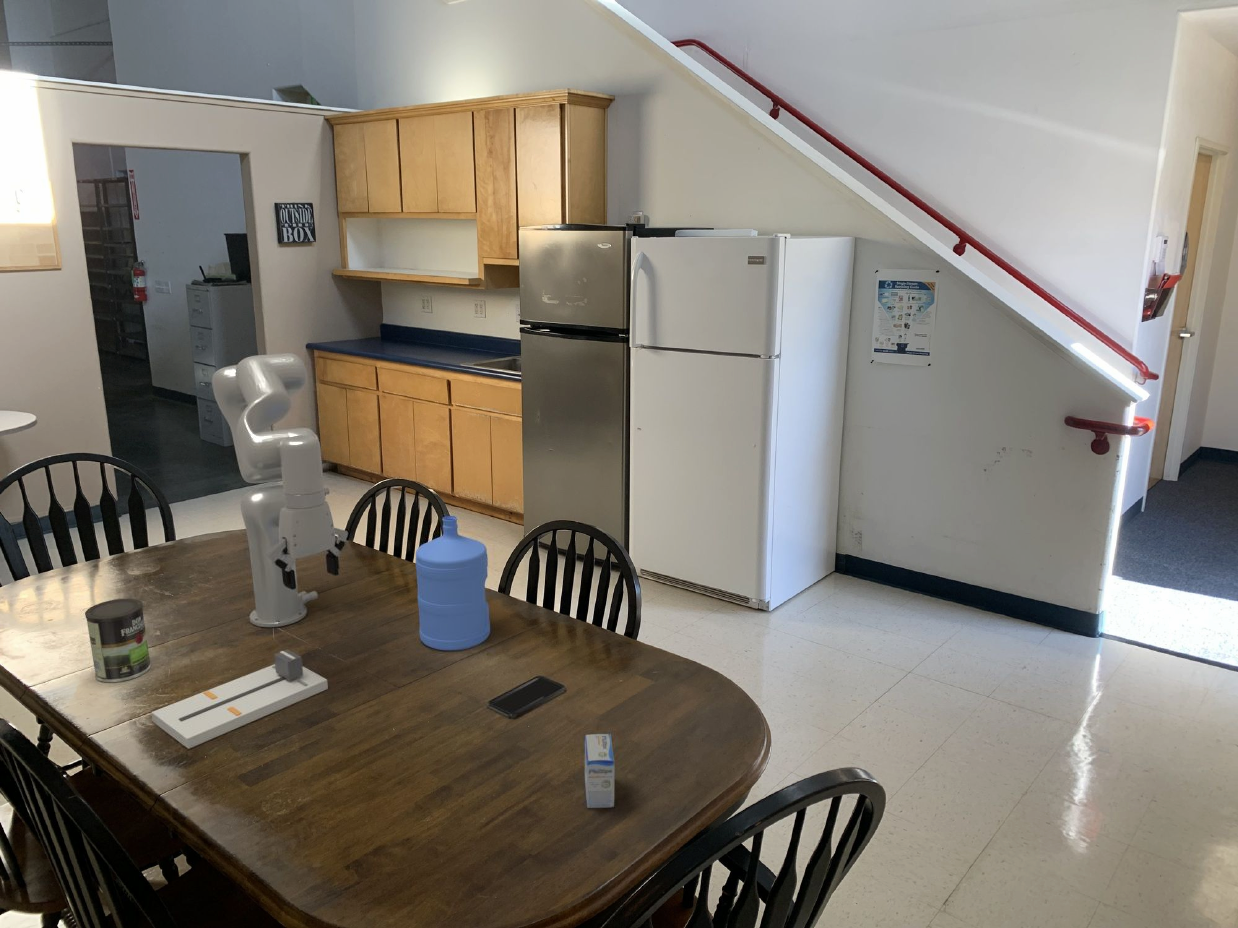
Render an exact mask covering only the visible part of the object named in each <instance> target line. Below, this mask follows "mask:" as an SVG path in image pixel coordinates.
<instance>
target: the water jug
mask: <svg viewBox="0 0 1238 928" xmlns="http://www.w3.org/2000/svg"><path fill="white" fill-rule="evenodd" d="M457 520H458V517H457V516H454V515H448V516H444V517H442V522H443V525H442V530H443V534H442V535H441V536H439V537H436V538H434V539H432V540H429V541H427V542H426V543H423V544H421V545H420V546H418V548H417V549H416V550H415V551H416V552H415V570H416V578H417V579H416V581H417V604H418V615H419V630H418V631H419V639H420V640H421V642H422V643H423V644H424V645H425V646H427V647H428V648H432V649H434V650H438V651H439V650H440V651H460V650H461V651H462V650H466V649H471V648H473V647H476V646H478V645H480V644H482V643H483V642H485V640H487V639H488V637H490V633H491V622H490V609H489V608H490V606H489V603H488V602H487V600H486V581H487V578H488V566H489V565H488V563H489V562H488V561H489V559H488V557H489V556H488V552H487V547H486V545H485V544H484V543H483V542H481V541H480V540H477V539H473V538H471V537H467V536H464V535H460V534H459V533H458V528H459V527H458V521H457Z"/></svg>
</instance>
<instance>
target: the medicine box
mask: <svg viewBox="0 0 1238 928" xmlns="http://www.w3.org/2000/svg"><path fill="white" fill-rule="evenodd" d="M615 769H616V768H615V758H614V751H613V742H612V735H611V733H610V734H609V733H607V734H606V733H596V734H586V735H585V736H584V786H585V787H584V788H585V796H586V797H585V798H586V801H585V802H586V807H587V809H605V808H607V809H608V808H614V807H615Z"/></svg>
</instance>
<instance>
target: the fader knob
mask: <svg viewBox="0 0 1238 928" xmlns="http://www.w3.org/2000/svg"><path fill="white" fill-rule="evenodd" d="M273 656H274V664H275V668H276V673H277V674H279V675H281V676H282V677H284V678H286V679H287V680H289V681H290V680H292V679H295V678H297V677H300V676H302V675H303V668H302V666H303V662H302V660H303V659H302V656H300V655H299V654H297V653H295V652H293V651H291V650H289V649H285V650H281V651H279V652H278V653H275V654H273Z"/></svg>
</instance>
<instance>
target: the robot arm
mask: <svg viewBox="0 0 1238 928" xmlns="http://www.w3.org/2000/svg"><path fill="white" fill-rule="evenodd" d="M211 381H212V382H211V383H212V386H211V387H212V391H213V395H214V398H215V401H216V403H217V406H218V408H219V410H220V411H221V413H222V415H223V416H224V419H225V420H226V421H227V424H228V426H229V427H230V432H231V436H232V440H233V445H234V446H233V447H234V450H235V454H236V459H237V464H238V467H239V468H238V469H239V471H240V475H241V477H242V479H243V480H244V482H246V483H249V484H261V483H263V484H264V483H270V482H276V481H277V482H278V481H282V484H278V485H272V486H264V487H260V488H259V487H258V488H255V489H252V490H250V491H248V492H246V493H245V494H244V495H243V496H242V497H241V500H240V503H239V504H240V505H239V507H240V512H241V516H242V519H243V523H244V527H245V530H246V535H247V541H248V547H249V555H250V556H249V557H250V566H251V573H252V574H251V577H252V583H253V592H254V601H255V609H253V611H251V613H250V614H249V622H250V623H251V624H253V625H254V626H257V627H261V628H277V627H279V628H280V627H284V626H288V625H291V624H294V623H296V622H299V621H301V620H302V619H303V618H304V617H306V615H307V613H308V611H307V610H308V609H307V607H306V606H305V605H306V604H307V602H310V601H314V600H316V599H318V592H317V591H315V590H313V591H311V592H306V591H305V590H303V591H301V592H298V591H299V590H298V578H297V570H296V568H297V567H296V561H297V560H300V559H304V558H307V557H310V556H313V555H317V554H318V555H319V554H321V553H324V552H327V553H326V555H325V561H326V563H325V564H326V571H327V573H328V574H330V575H333V576H335V577H336V576H339V575H340V574H339V569H340V563H339V562H340V561H339V556H340V555H341V554H342V553H341V552H342V550H343V548H344V546H345V545H346V541H347V538H348V535H349V532H348V531H347V530H344V529H340V528H338V527H335V525H334V520H333V515H332V511H331V507H330V506H329V502H328V501H327V500H326V495H329V494H330V489H329V488H328V487H325V483H324V472H323V461H322V451H321V443H320V441H319V440H320V439H319V436H318V434H315V432H314V431H313V430H312V429H311V428H307V427H296V428H286V429H285V428H284V429H278V430H272V426H273V425H275V424H277V423H279V422H280V421H282V420H283V419H284V418H285V417H287V416H288V414H289V413H290V412H291V409H292V398H291V397H293V396H295V395H297V394H299V393H300V392H302V391H303V390H304V389H305V388H306V385H307V382H308V373H307V368H306V366H305V364H304V362H303V359H301V357H299V355H297V354H294V353H290V352H287V353H286V352H285V353H273V354H272V353H271V354H260V355H251V356H248V357H245V358H243V359H242V360H240V361H239V362H238V364H234V365H229V366H224V367H222V368H219V369H218V370H217V371H215V372H214V373H213V375H212V380H211ZM336 536H337V539H336Z"/></svg>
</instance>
